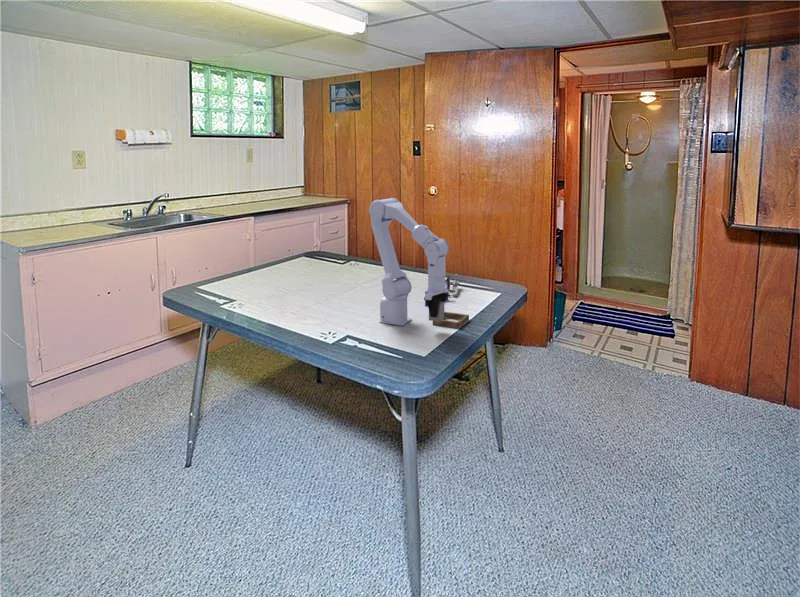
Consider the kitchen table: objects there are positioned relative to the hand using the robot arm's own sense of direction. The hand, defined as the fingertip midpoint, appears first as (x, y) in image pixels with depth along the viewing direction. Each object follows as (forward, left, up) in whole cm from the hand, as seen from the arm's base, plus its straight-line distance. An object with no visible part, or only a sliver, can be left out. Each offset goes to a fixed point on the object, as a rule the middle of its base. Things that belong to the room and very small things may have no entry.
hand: (436, 314), depth 182 cm
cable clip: (-12, +31, -6) cm, 34 cm away
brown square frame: (+1, +11, -6) cm, 13 cm away
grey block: (0, 0, -2) cm, 2 cm away
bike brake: (-15, +44, -7) cm, 47 cm away
